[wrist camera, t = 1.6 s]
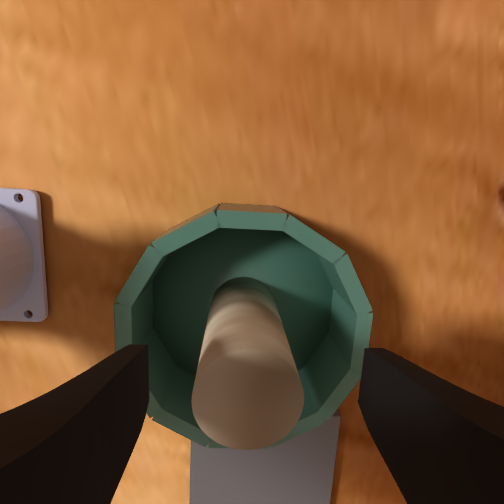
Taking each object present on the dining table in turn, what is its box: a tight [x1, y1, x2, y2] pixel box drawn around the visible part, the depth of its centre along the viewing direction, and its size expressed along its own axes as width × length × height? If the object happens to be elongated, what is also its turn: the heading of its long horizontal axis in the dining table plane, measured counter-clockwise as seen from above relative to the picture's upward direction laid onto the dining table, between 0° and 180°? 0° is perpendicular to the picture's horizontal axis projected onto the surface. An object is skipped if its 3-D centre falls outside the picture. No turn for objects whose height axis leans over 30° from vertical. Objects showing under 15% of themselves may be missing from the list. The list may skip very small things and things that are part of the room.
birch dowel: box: [191, 277, 304, 450], centre depth 16 cm, size 4×4×9 cm
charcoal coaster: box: [190, 409, 341, 504], centre depth 24 cm, size 10×10×1 cm
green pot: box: [114, 203, 373, 449], centre depth 19 cm, size 13×13×5 cm
